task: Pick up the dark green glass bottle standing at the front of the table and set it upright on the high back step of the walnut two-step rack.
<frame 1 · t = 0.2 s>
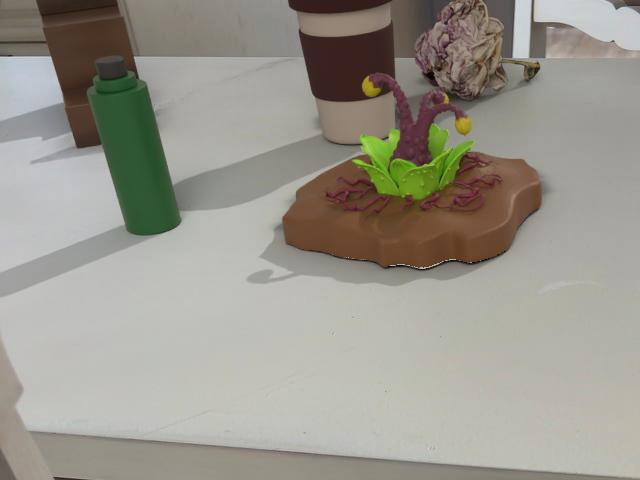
green bottle: (154, 224, 86), on the table
decorative flower: (478, 92, 111), on the table
coffee cup: (360, 136, 102), on the table
rack: (112, 124, 109), on the table
plant: (415, 220, 84), on the table
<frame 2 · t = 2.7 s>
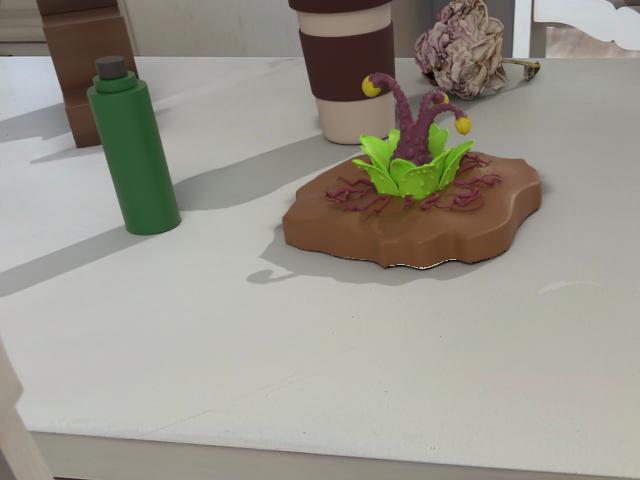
nothing on the table moved.
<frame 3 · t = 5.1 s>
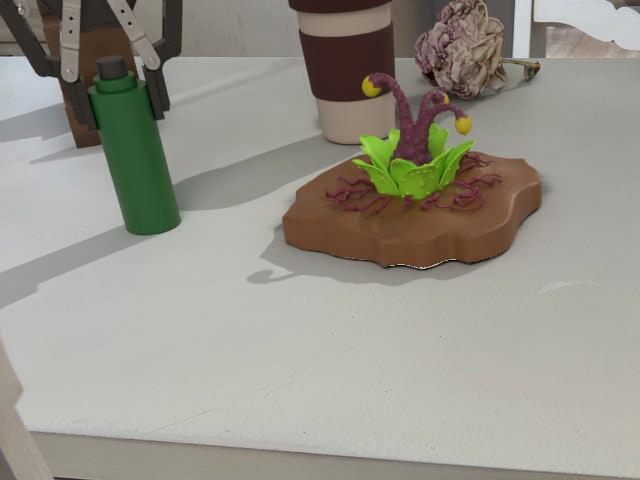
hand: (125, 122, 81), 8 cm above the table, tool pointing down, fingers closed on green bottle, 4 cm apart
green bottle: (153, 224, 86), on the table, touching gripper
everything else where it was.
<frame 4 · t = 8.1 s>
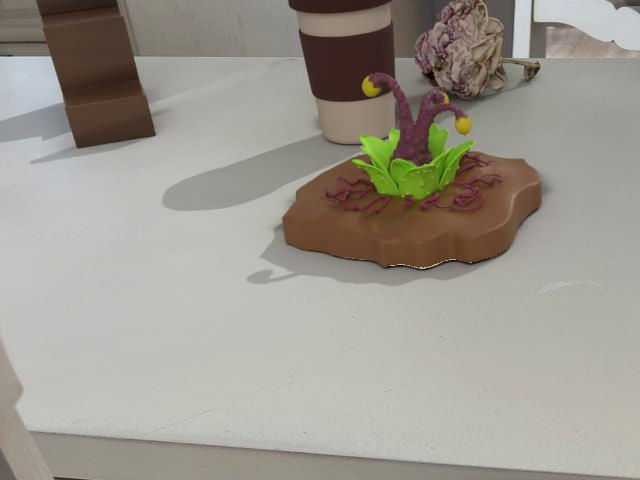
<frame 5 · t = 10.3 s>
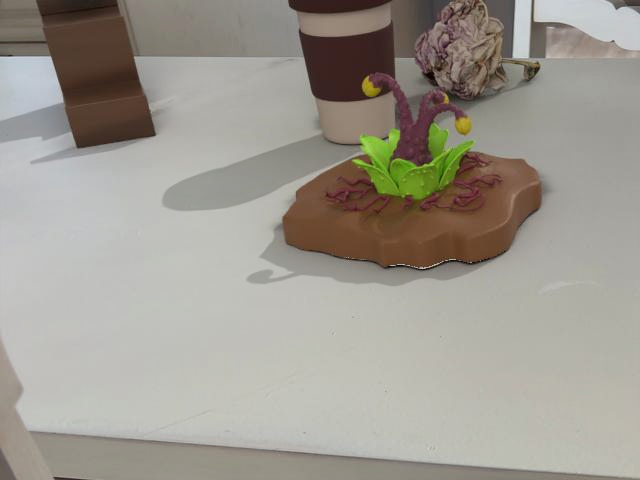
when the fingers open (18 cm above the table, at t = 11.4 s): green bottle stays where it is, resting on rack.
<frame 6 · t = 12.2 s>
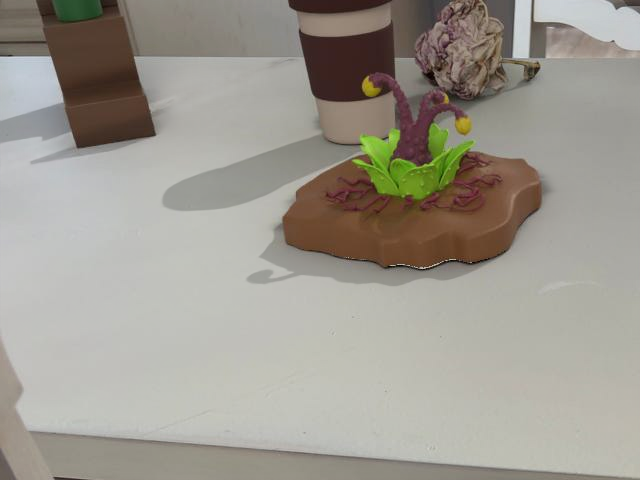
green bottle: (80, 16, 105), point 10 cm above the table, touching rack
everything else where it was.
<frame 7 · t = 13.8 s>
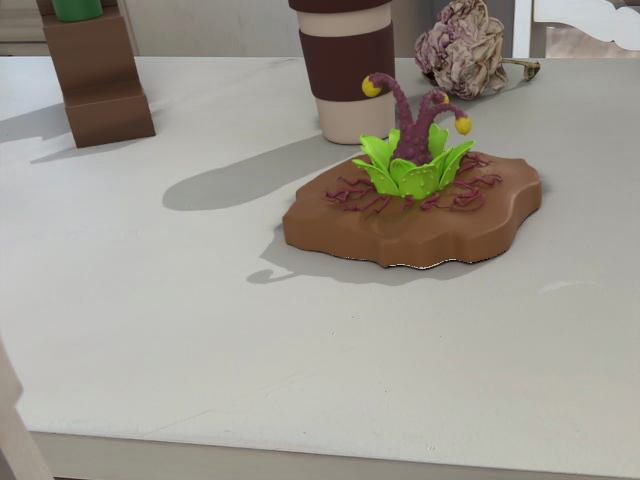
nothing on the table moved.
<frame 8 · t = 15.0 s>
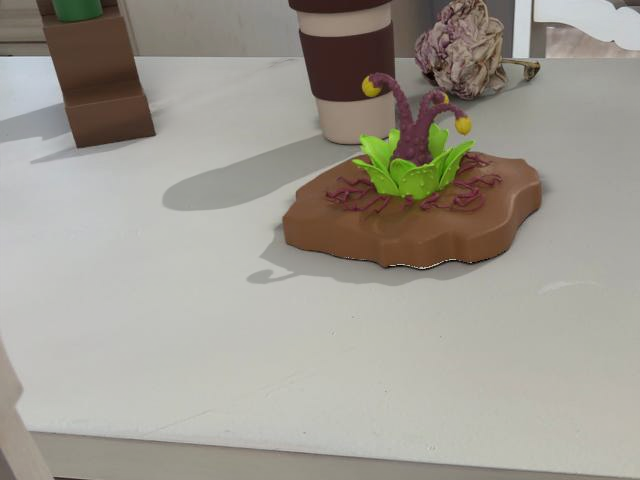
nothing on the table moved.
at the end: green bottle 0.1 cm from the target spot on the rack, point 10.0 cm above the rack's base; green bottle tilted 0°; the gripper is holding nothing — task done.
